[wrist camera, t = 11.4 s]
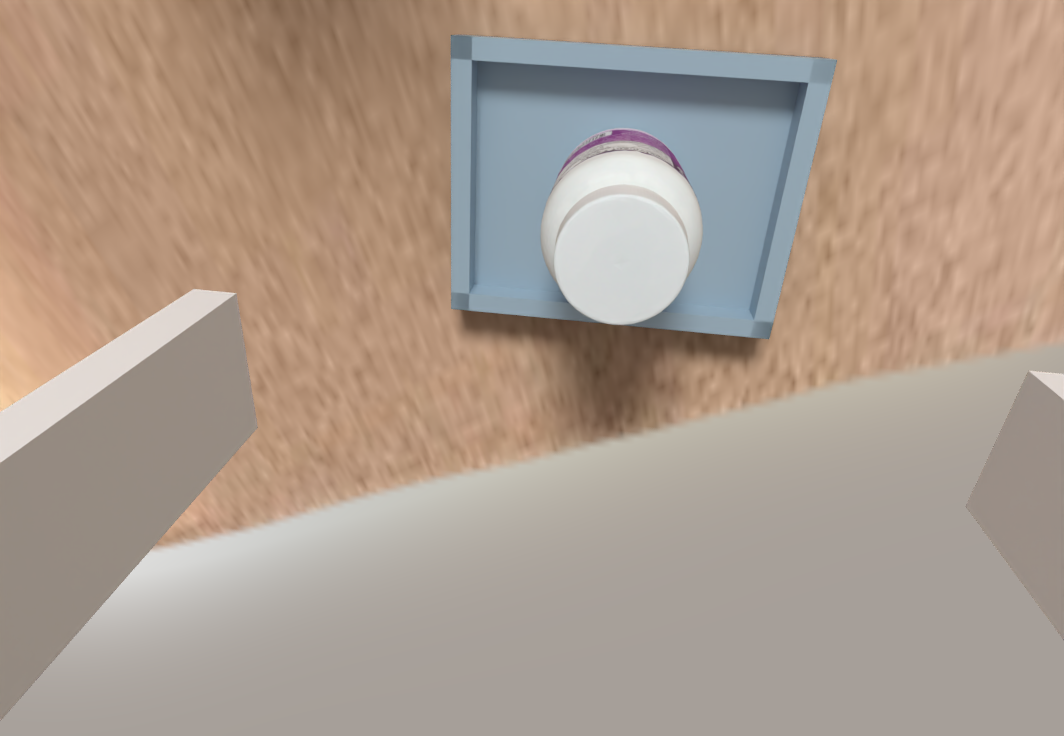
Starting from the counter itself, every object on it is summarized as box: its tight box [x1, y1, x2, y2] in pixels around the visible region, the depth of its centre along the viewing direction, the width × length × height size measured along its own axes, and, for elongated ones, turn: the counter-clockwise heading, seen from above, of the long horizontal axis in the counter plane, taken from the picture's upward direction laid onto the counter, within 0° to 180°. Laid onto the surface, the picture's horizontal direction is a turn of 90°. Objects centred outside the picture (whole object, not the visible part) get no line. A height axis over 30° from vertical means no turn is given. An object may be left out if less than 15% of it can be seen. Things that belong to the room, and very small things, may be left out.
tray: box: [451, 35, 837, 339], centre depth 27 cm, size 14×11×2 cm
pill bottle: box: [540, 128, 703, 325], centre depth 23 cm, size 5×5×10 cm
